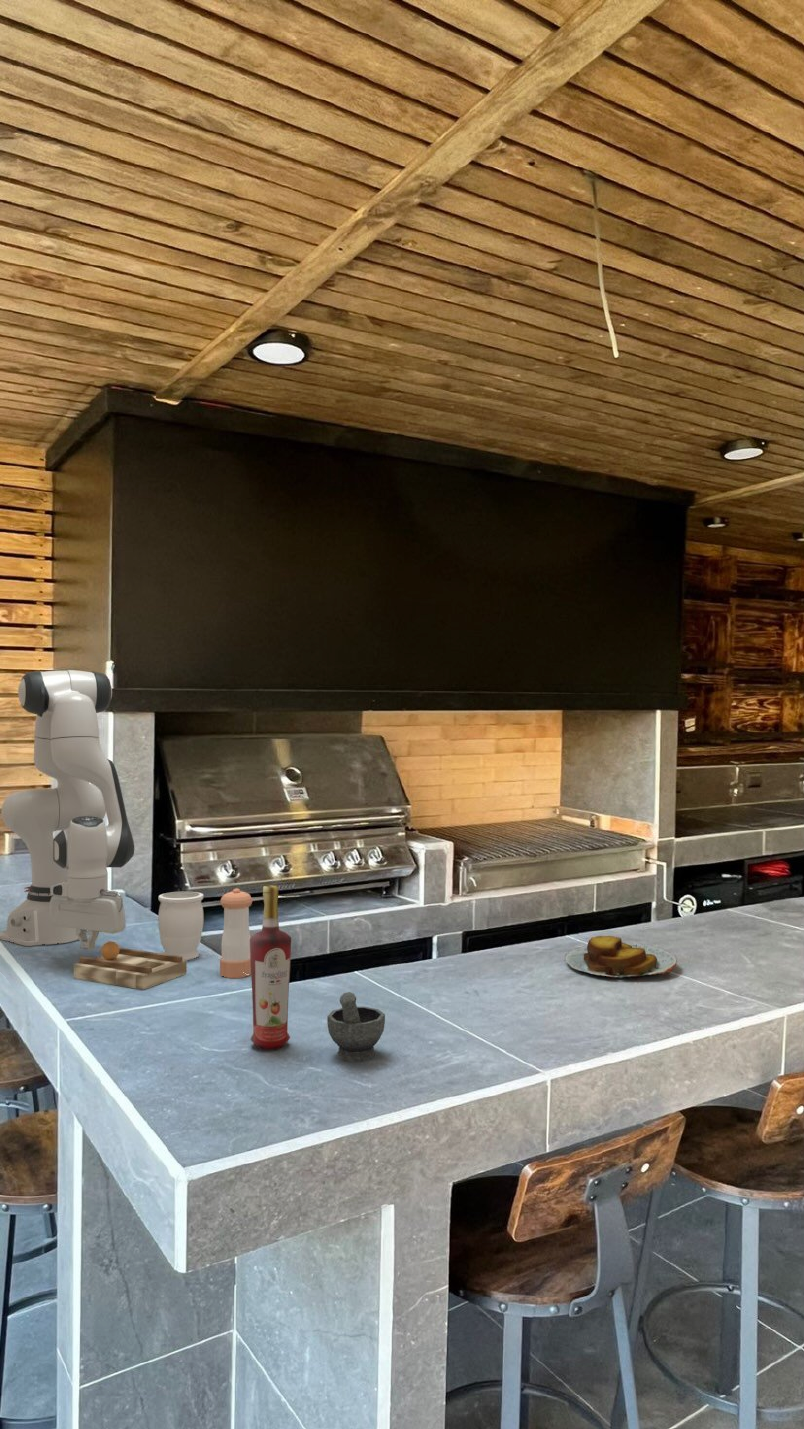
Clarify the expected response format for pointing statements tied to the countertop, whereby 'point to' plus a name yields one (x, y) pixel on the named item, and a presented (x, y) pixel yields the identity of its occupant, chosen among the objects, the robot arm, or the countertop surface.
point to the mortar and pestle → (355, 1029)
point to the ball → (110, 950)
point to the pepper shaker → (236, 935)
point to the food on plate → (620, 958)
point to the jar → (181, 923)
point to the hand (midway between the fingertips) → (87, 948)
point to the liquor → (270, 977)
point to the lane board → (131, 969)
